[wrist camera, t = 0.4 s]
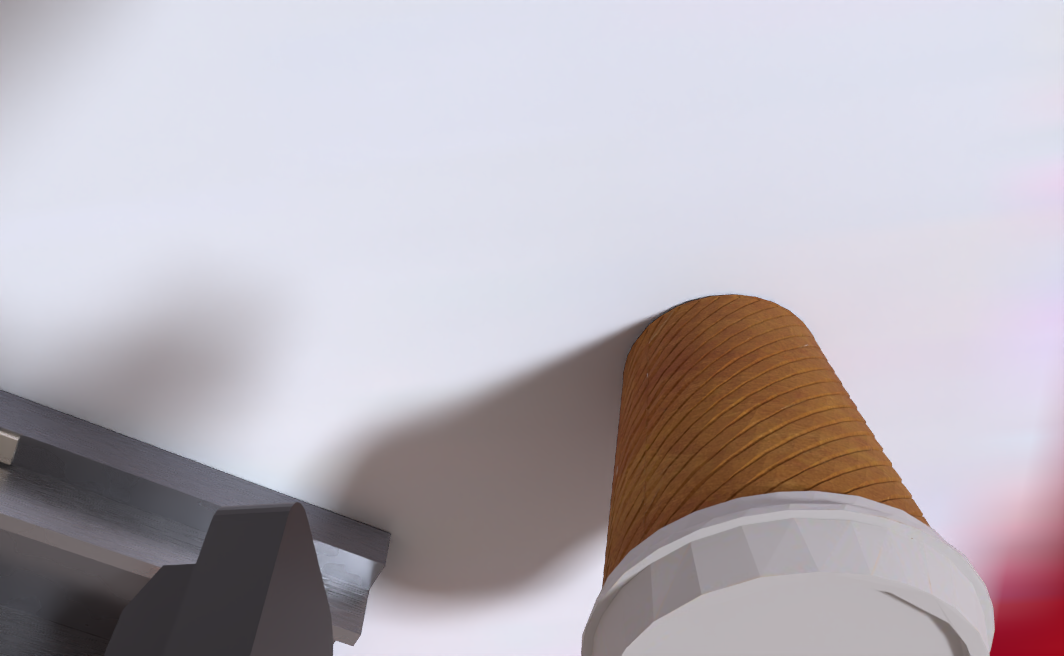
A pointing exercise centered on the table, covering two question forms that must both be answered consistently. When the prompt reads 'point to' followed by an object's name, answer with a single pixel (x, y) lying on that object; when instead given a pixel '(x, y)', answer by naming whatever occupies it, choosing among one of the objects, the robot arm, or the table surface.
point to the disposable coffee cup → (765, 508)
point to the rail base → (127, 531)
